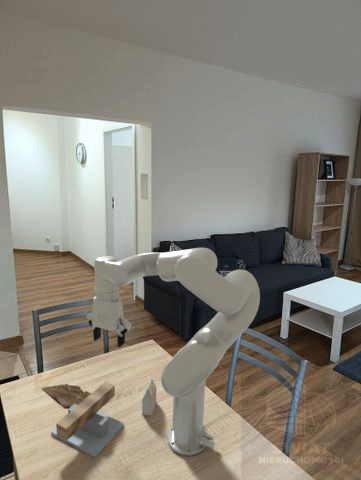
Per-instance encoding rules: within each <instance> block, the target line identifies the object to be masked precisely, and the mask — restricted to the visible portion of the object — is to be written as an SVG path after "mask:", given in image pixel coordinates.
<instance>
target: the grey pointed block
mask: <svg viewBox="0 0 361 480" xmlns="http://www.w3.org/2000/svg"><path fill="white" fill-rule="evenodd" d="M141 403H142V404H141V406H142V407H141V409H142V410H141V412H142V413H141V415H144V416H154V412H155V409H156V405H157V386H156V384H155V382H154V379H153V378H150V380H149V382H148V383H147V385H146V388H145V390H144V394H143V397H142V399H141Z"/></svg>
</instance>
